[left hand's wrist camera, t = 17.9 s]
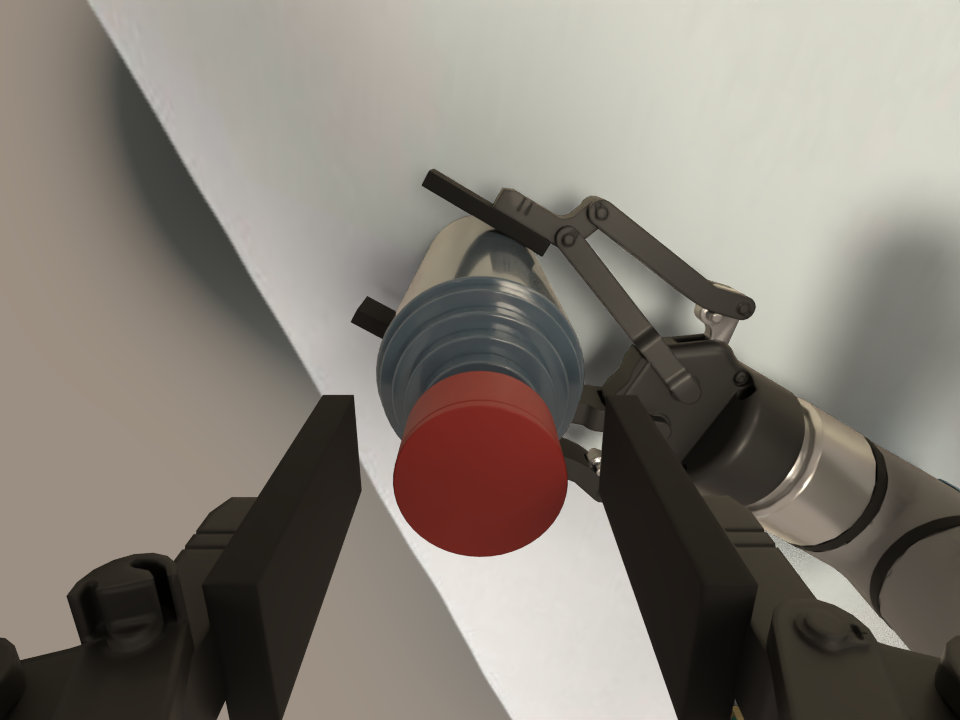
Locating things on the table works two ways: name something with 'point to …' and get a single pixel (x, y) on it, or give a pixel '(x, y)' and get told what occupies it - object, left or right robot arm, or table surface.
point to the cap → (480, 465)
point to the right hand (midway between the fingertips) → (392, 245)
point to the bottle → (479, 325)
